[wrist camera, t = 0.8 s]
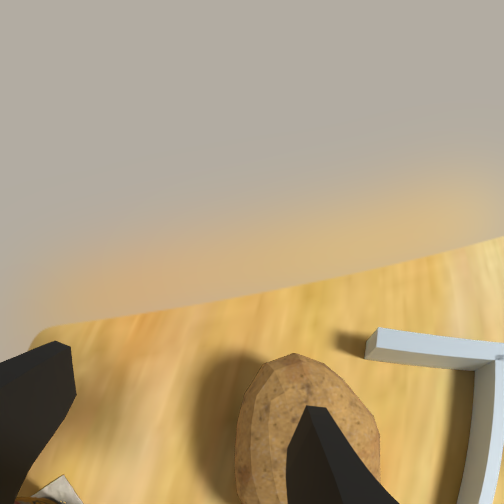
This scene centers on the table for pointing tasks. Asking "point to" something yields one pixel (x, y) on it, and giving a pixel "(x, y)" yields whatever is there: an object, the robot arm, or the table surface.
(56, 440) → the table surface
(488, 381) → the corner walls
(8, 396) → the robot arm
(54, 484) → the condiment
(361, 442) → the potato
